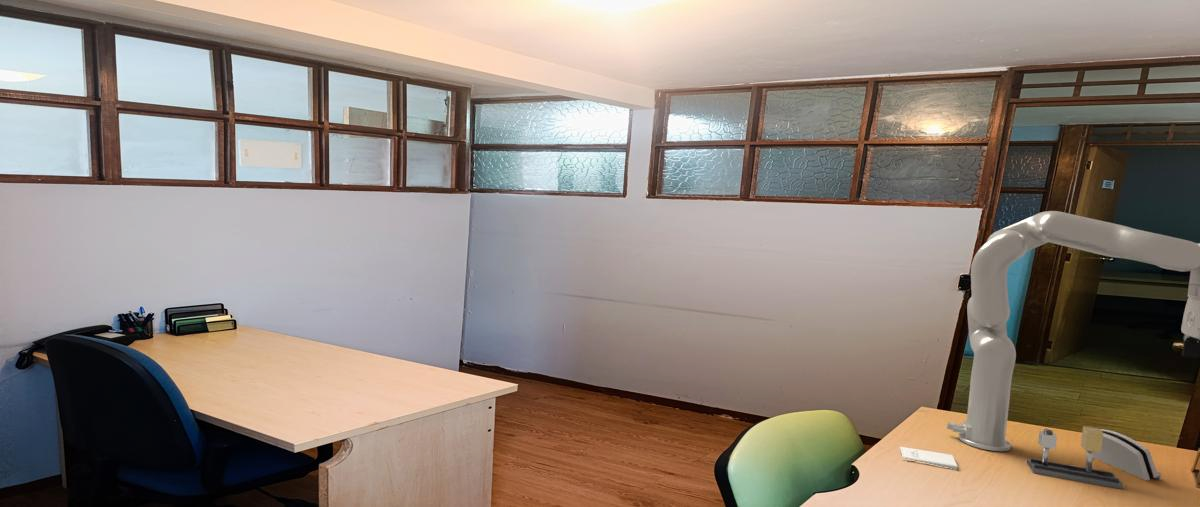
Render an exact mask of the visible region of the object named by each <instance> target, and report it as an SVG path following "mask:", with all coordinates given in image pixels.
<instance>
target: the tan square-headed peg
mask: <svg viewBox="0 0 1200 507" xmlns="http://www.w3.org/2000/svg"><path fill="white" fill-rule="evenodd" d="M1100 429H1101V428H1097V427H1090V426H1084V425H1083V426H1082V432H1081V433H1082V434H1081V440H1080V441H1081V443H1080V447H1081V448H1083V450H1084V451H1086V450H1087V454H1086V461H1085V467H1084V468H1085V469H1086V471H1088V472H1090V471H1091V470H1092V469H1093V460H1094V457H1093V453H1094V452H1099V453H1101V449H1102V441H1103V432H1102V431H1101V430H1100Z"/></svg>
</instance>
